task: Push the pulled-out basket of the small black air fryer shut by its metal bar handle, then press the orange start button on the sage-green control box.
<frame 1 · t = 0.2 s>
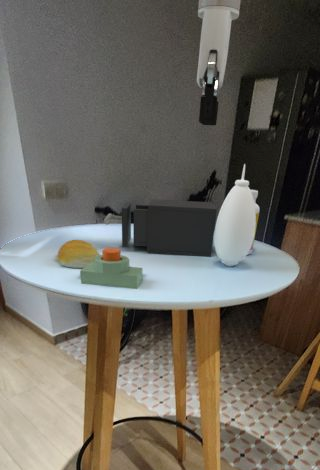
hand: (207, 124, 76), 24 cm above the table, tool pointing down, fingers open, 9 cm apart
button: (111, 255, 63), point 4 cm above the table, slide at 0.1 cm
bread roll: (78, 263, 74), on the table
supplement bottle: (237, 253, 87), on the table
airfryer: (178, 249, 87), on the table
sauce bottle: (229, 266, 78), on the table
drawer: (144, 225, 84), point 5 cm above the table, slide at 4.5 cm
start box: (112, 281, 65), on the table
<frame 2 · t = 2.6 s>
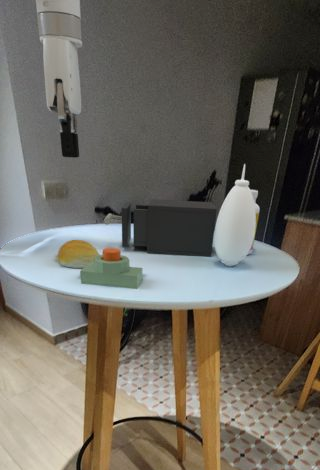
hand: (70, 156, 76), 17 cm above the table, tool pointing down, fingers closed
nothing on the table moved.
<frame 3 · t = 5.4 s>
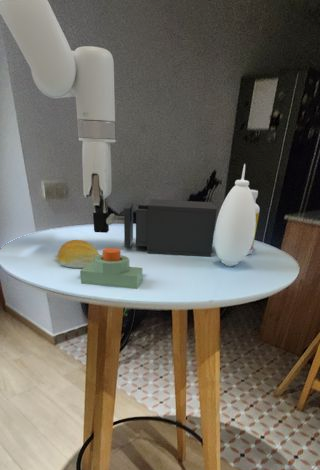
hand: (101, 231, 85), 3 cm above the table, tool pointing down, fingers closed
drawer: (146, 225, 84), point 5 cm above the table, slide at 4.0 cm, touching gripper
everything else where it was.
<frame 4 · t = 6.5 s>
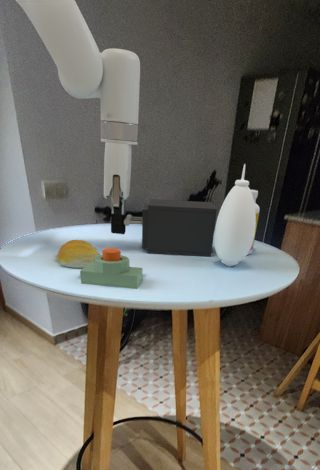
hand: (118, 232, 85), 3 cm above the table, tool pointing down, fingers closed
drawer: (163, 226, 84), point 5 cm above the table, slide at 0.0 cm, touching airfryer, gripper
everything else where it was.
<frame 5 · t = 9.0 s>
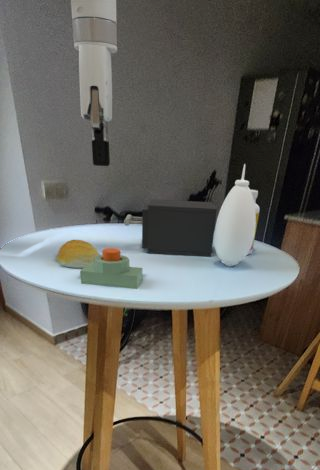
hand: (101, 165, 74), 16 cm above the table, tool pointing down, fingers closed
drawer: (163, 226, 84), point 5 cm above the table, slide at 0.0 cm, touching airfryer
everything else where it was.
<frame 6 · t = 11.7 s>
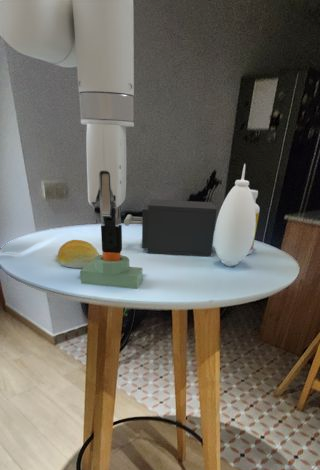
hand: (112, 251, 62), 5 cm above the table, tool pointing down, fingers closed
button: (111, 256, 63), point 4 cm above the table, slide at -0.1 cm, touching gripper
everything else where it was.
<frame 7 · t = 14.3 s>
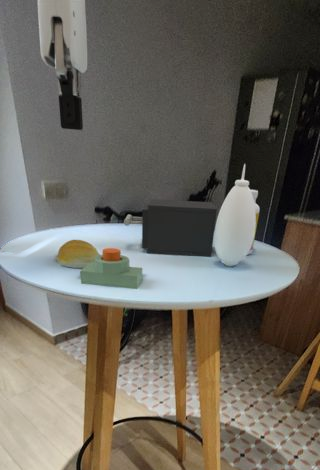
hand: (72, 128, 59), 22 cm above the table, tool pointing down, fingers closed
button: (111, 255, 63), point 4 cm above the table, slide at 0.1 cm
everything else where it was.
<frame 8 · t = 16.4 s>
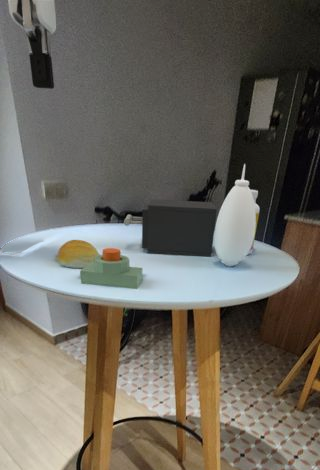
hand: (43, 87, 62), 27 cm above the table, tool pointing down, fingers closed
nothing on the table moved.
at the end: drawer slide at 0.0 cm; button pushed in 1.1 cm at the most during the clip, back to where it started at the end; button slide at 0.1 cm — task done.
